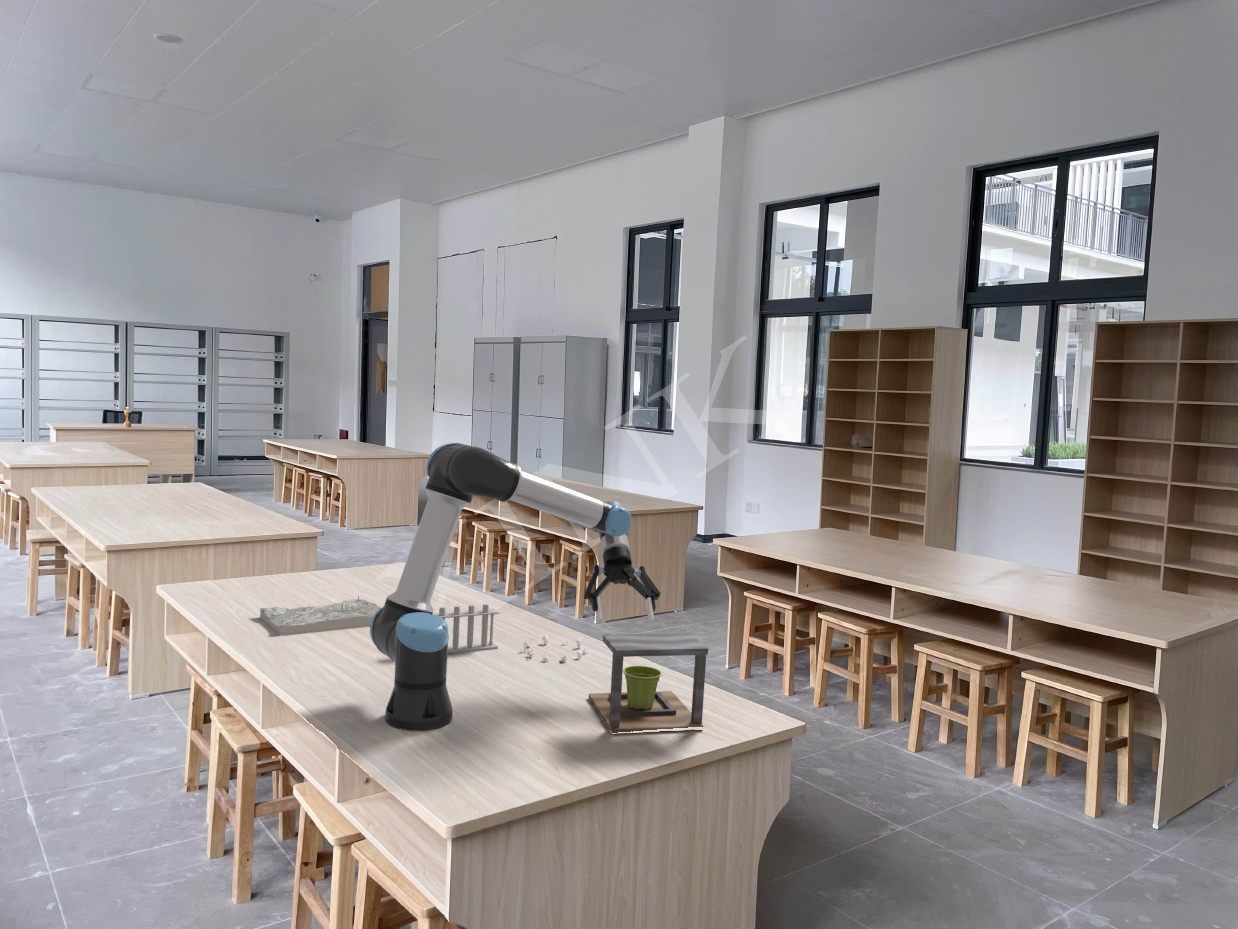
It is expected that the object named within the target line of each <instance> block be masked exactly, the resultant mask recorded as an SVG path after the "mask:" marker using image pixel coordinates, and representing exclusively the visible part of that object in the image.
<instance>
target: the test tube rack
mask: <svg viewBox="0 0 1238 929" xmlns="http://www.w3.org/2000/svg"><path fill="white" fill-rule="evenodd" d="M489 607H490V606H489V603H483V604H482V609H480V610H475V605H474V604H468V607H467V608H468V611H467V610H465V611H463V610H462V611H461V606H459V605H454V607H453V611H452V612H446V607H445V606H439V609H438V613H433V614H432V615H437V616H439V617H441V618H443V619H444V620H445V621H446V619H451V618H453V624H452V626H453V627H452V646H451V645H450V646H448V654H458V653H468V652H469V653H470V652H478V651H479V652H480V651H488V650H498V649H499V646H498V645H497V644H495V643H494V642H493V639H494V638H493V633H494V616H495V615H499V614H500V612H499V611H498V610H495V609H494V608H492V609H490V608H489ZM489 615H490V627H489ZM475 616H481V635H480V636H481V637H480V639H481V641H480V643H474V628H475V627H474V626H475V625H474V624H475V622H474V621H475ZM462 617H463V618H464V617H467V633H466V634H467V635H466V644H464V645H463V644H462V645H459V641H460V639H459V638H460V622H461V621H460V618H462ZM488 628H490V629H489V630H490V631H489V642H488ZM448 654H447V655H448Z"/></svg>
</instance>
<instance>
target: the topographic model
mask: <svg viewBox="0 0 1238 929" xmlns="http://www.w3.org/2000/svg"><path fill="white" fill-rule="evenodd" d="M382 607H383V606H382ZM382 607H381V606H380V605H377V604H376V603H373V602H371V601H369V600H367V599H366V598H360V595H358V596H357V598H354V599H349V600H343V601H342V602H339V603H338V602H334V603H333V604H325V605H317V606H311V605H309V606H304V607H303V606H302V607H301V606H299V607H297V608H287V607H284V606H283V607H279V606H274V607H261V608H260V609H259V610H260V613H259V618H260V617H261V618H262V619H263V622H265V623H266V624H267V623H268V624H269V625H270V626H271V627H272V628H273V629H274V631H275V633H277V635H279V636H280V635H283V636H290V635H291V636H292V635H299V634H309V633H310V634H311V633H318V632H328V631H335V630H347V629H356V628H364V627H370V624H371V620H372V618H373V616H374V615H375V613H376V612H377V611H378V610H379V609H381V608H382ZM261 618H260V619H261ZM262 619H261V620H262ZM268 624H267V625H268ZM269 625H268V626H269ZM270 626H269V627H270ZM271 627H270V628H271ZM272 628H271V629H272ZM273 629H272V630H273Z"/></svg>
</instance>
